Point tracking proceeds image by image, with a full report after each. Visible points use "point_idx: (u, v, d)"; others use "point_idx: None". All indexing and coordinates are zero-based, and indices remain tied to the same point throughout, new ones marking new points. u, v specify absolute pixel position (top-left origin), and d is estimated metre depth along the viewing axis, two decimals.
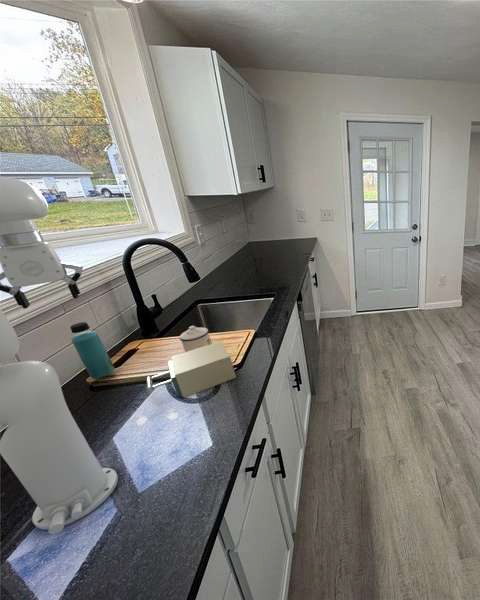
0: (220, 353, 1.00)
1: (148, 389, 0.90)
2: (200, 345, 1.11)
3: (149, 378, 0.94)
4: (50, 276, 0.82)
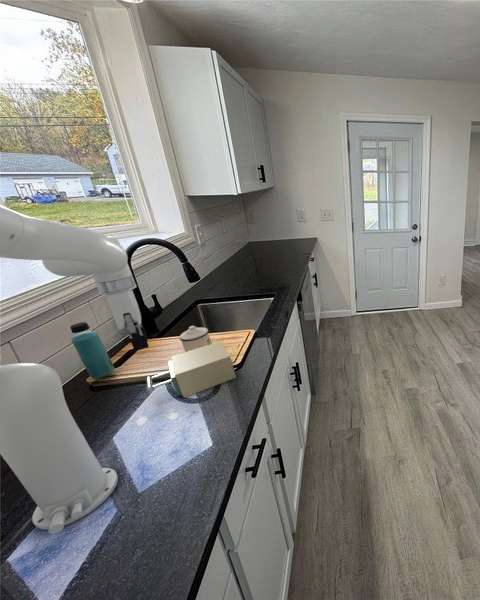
0: (220, 353, 1.00)
1: (148, 389, 0.90)
2: (200, 345, 1.11)
3: (149, 378, 0.94)
4: None
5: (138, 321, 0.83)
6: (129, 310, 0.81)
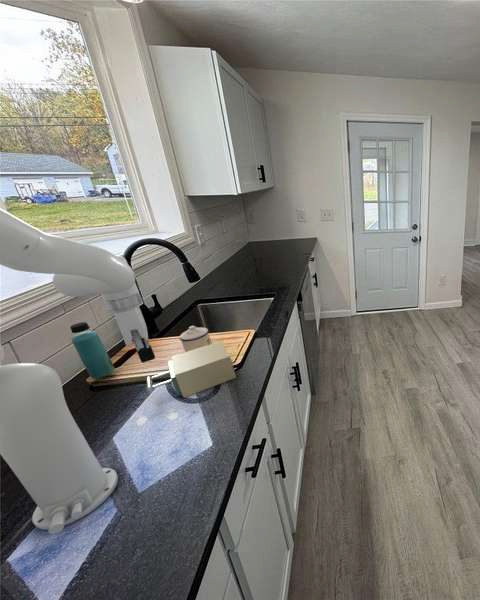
0: (220, 353, 1.00)
1: (148, 389, 0.90)
2: (200, 345, 1.11)
3: (149, 378, 0.94)
4: None
5: (145, 337, 0.85)
6: (136, 327, 0.83)
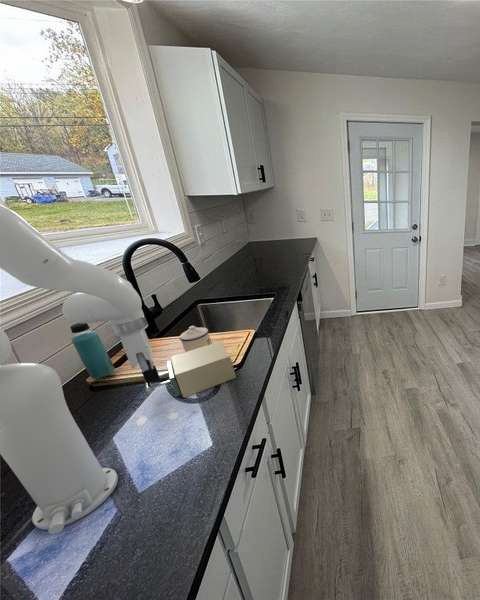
0: (220, 353, 1.00)
1: (147, 389, 0.90)
2: (200, 345, 1.11)
3: None
4: None
5: (150, 359, 0.87)
6: (141, 350, 0.85)
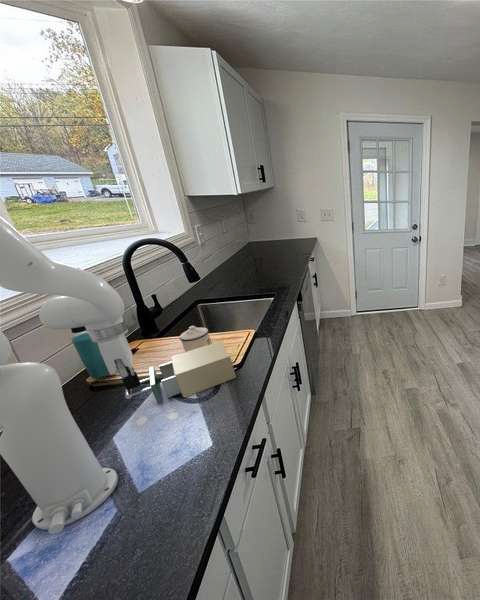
0: (220, 353, 1.00)
1: (127, 397, 0.87)
2: (200, 345, 1.11)
3: None
4: None
5: (129, 366, 0.85)
6: (120, 356, 0.83)
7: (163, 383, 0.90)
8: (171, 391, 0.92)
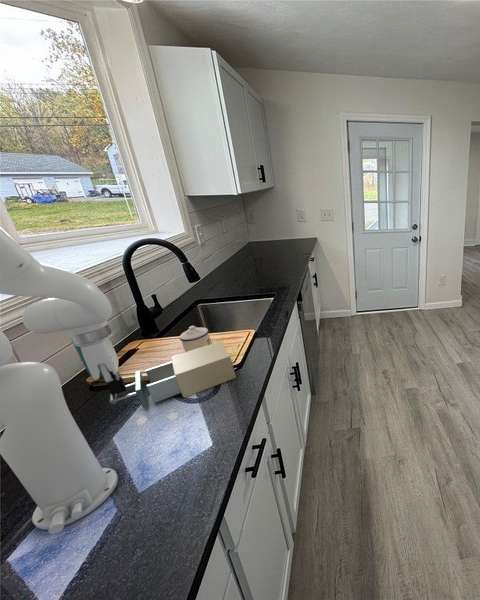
0: (220, 353, 1.00)
1: (111, 402, 0.85)
2: (200, 345, 1.11)
3: None
4: None
5: (113, 370, 0.83)
6: (104, 360, 0.81)
7: (149, 388, 0.88)
8: (157, 396, 0.90)
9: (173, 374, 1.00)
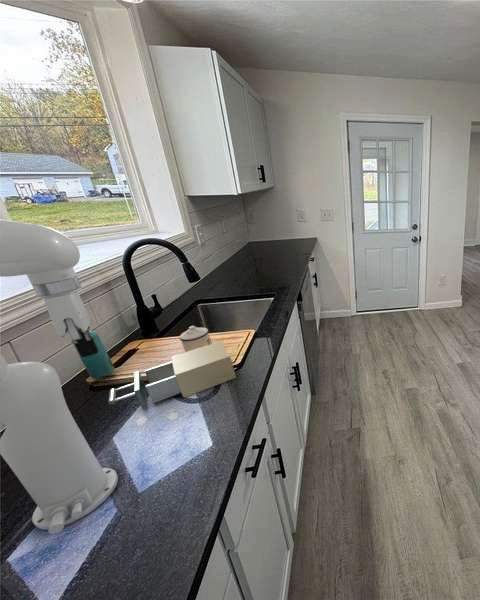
0: (220, 353, 1.00)
1: (110, 402, 0.85)
2: (200, 345, 1.11)
3: (113, 390, 0.89)
4: None
5: (82, 327, 0.75)
6: (71, 315, 0.73)
7: (148, 388, 0.88)
8: (156, 396, 0.90)
9: (172, 374, 1.00)
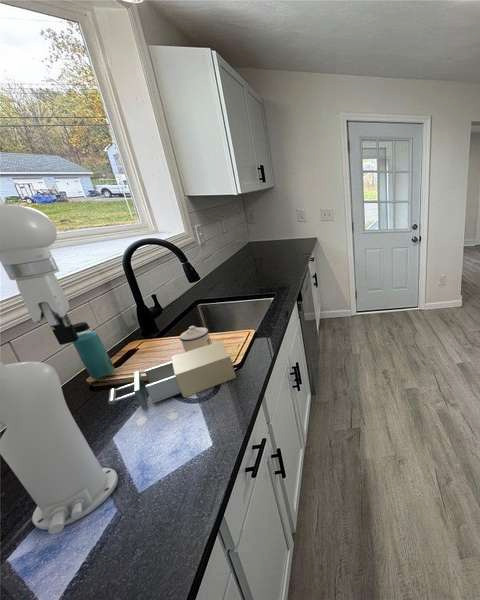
0: (220, 353, 1.00)
1: (110, 402, 0.85)
2: (200, 345, 1.11)
3: (113, 390, 0.89)
4: None
5: (59, 312, 0.70)
6: (46, 299, 0.68)
7: (148, 388, 0.88)
8: (156, 396, 0.90)
9: (172, 374, 1.00)
